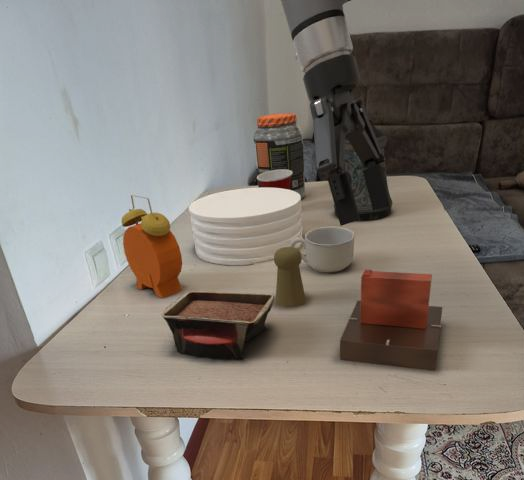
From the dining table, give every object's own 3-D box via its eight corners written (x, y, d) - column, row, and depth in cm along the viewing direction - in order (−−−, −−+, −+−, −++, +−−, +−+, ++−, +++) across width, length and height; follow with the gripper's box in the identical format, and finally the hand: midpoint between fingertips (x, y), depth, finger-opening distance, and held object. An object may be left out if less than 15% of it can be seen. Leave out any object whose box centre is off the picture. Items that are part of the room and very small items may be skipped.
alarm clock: (189, 290, 104) (172, 196, 94) (165, 300, 101) (145, 204, 91) (154, 277, 113) (135, 189, 103) (131, 286, 109) (110, 196, 99)
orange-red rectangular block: (427, 321, 76) (432, 272, 71) (426, 329, 74) (431, 279, 69) (363, 316, 79) (364, 268, 75) (360, 323, 77) (361, 275, 73)
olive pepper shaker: (278, 296, 98) (274, 243, 92) (307, 296, 97) (305, 243, 91) (272, 309, 93) (268, 255, 87) (303, 309, 92) (301, 254, 86)
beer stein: (379, 225, 131) (383, 124, 118) (315, 220, 140) (312, 126, 127) (399, 209, 143) (405, 115, 130) (338, 204, 152) (338, 117, 139)
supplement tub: (308, 192, 169) (305, 110, 156) (301, 204, 156) (297, 116, 143) (264, 193, 173) (258, 114, 160) (254, 205, 160) (246, 120, 147)
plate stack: (175, 260, 121) (166, 214, 116) (228, 226, 143) (223, 186, 137) (276, 269, 110) (272, 220, 104) (318, 231, 131) (316, 188, 125)
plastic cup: (252, 215, 150) (248, 175, 144) (277, 206, 156) (274, 168, 150) (277, 220, 143) (274, 178, 137) (302, 211, 149) (300, 171, 143)
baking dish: (206, 326, 93) (189, 280, 88) (291, 324, 86) (277, 273, 80) (168, 371, 83) (146, 322, 78) (261, 373, 75) (243, 318, 70)
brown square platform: (440, 327, 82) (443, 305, 79) (435, 374, 70) (438, 349, 68) (356, 320, 86) (356, 299, 84) (339, 362, 75) (339, 339, 73)
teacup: (355, 259, 111) (356, 225, 107) (352, 278, 102) (353, 242, 98) (296, 259, 114) (294, 226, 110) (288, 278, 106) (285, 242, 101)
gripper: (338, 81, 79) (371, 209, 84) (259, 70, 60) (309, 237, 65) (381, 59, 74) (414, 196, 80) (311, 40, 55) (360, 222, 60)
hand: (367, 215), depth 72 cm, fingers open, 13 cm apart
